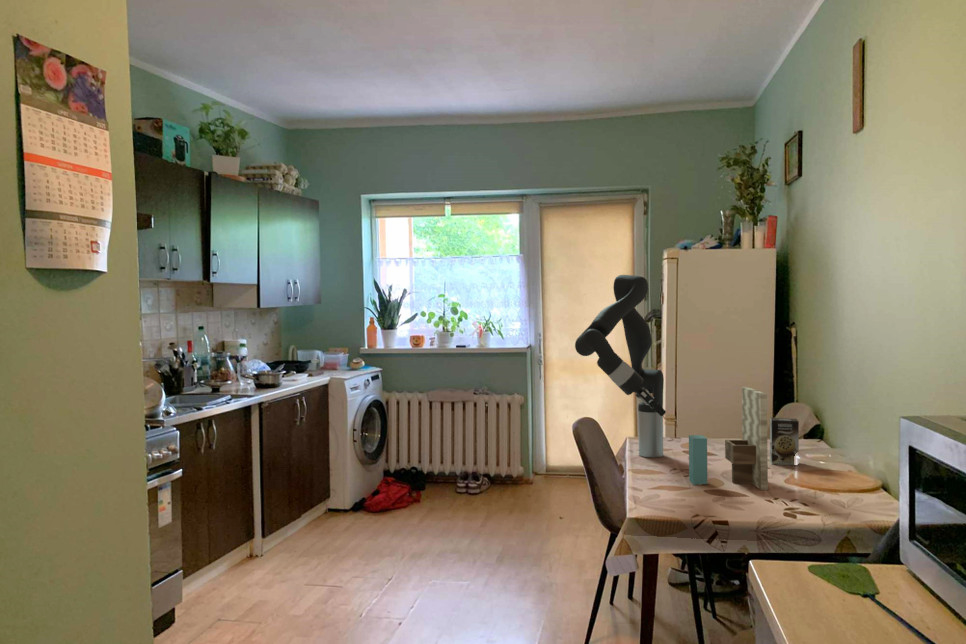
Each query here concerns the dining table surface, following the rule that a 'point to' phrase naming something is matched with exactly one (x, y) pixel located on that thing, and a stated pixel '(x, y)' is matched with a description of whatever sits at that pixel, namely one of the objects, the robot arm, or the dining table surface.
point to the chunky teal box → (697, 459)
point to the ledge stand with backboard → (750, 442)
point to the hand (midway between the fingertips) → (661, 412)
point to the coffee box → (783, 440)
